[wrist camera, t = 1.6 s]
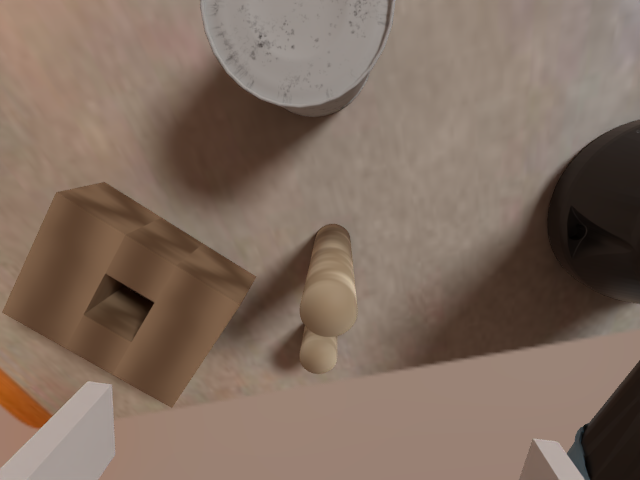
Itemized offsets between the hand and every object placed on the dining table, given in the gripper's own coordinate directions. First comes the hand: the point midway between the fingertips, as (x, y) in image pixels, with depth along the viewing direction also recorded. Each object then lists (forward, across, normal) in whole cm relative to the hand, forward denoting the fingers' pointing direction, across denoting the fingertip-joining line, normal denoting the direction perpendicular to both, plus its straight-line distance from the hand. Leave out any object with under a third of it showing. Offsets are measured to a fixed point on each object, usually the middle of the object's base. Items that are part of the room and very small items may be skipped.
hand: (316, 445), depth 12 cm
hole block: (+23, +16, +6) cm, 29 cm away
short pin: (+23, 0, +9) cm, 25 cm away
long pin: (+23, 0, 0) cm, 23 cm away
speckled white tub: (+24, +3, -15) cm, 28 cm away
